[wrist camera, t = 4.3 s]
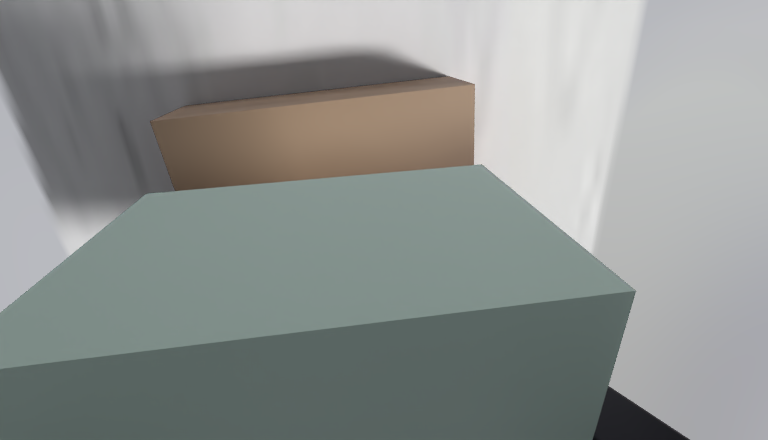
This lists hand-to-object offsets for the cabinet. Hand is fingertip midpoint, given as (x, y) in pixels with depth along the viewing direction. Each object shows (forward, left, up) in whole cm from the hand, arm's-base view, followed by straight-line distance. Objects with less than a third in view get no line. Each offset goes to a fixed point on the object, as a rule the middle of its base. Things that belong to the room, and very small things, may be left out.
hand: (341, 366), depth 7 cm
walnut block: (0, 0, -10) cm, 10 cm away
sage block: (0, 0, -1) cm, 1 cm away
